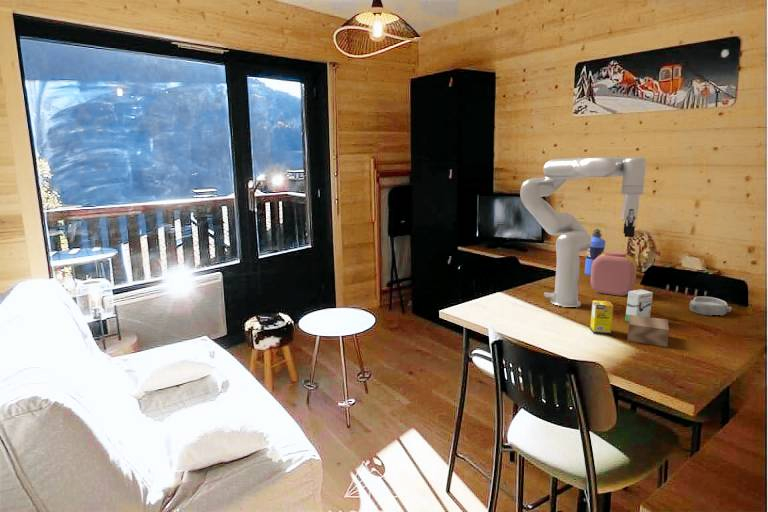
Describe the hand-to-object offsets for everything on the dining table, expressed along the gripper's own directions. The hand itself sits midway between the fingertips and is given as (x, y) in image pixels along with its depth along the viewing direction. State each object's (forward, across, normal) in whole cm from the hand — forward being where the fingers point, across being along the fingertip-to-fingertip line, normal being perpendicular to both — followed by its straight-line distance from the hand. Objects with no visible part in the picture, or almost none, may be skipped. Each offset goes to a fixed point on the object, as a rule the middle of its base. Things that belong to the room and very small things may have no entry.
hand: (628, 235), depth 187 cm
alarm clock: (+33, -40, -3) cm, 52 cm away
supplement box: (+33, +21, -8) cm, 40 cm away
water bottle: (+33, -78, -12) cm, 86 cm away
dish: (+34, -23, +33) cm, 53 cm away
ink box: (+33, +2, +6) cm, 34 cm away
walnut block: (+33, +22, +7) cm, 41 cm away
